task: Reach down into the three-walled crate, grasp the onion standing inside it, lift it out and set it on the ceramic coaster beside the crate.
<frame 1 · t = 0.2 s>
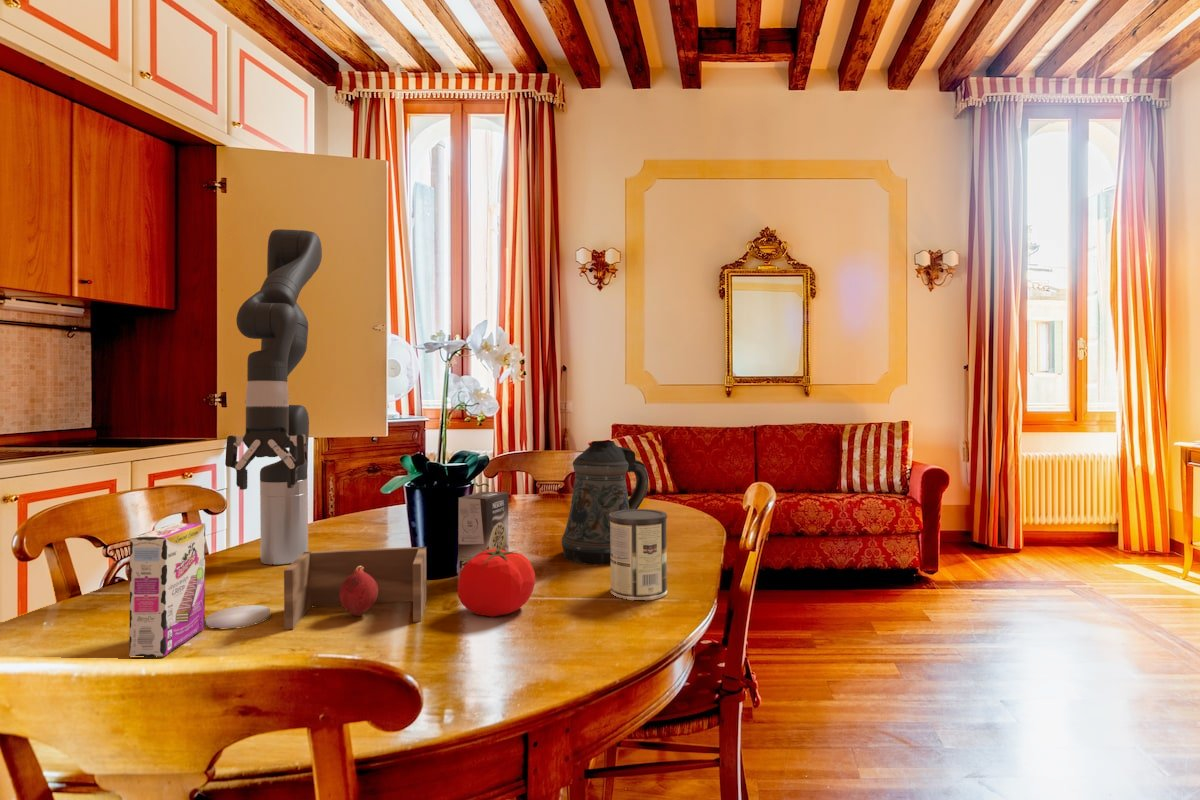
hand: (267, 488, 130), 17 cm above the table, tool pointing down, fingers open, 8 cm apart
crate: (360, 612, 109), on the table
coffee box: (484, 578, 130), on the table
onion: (359, 617, 108), on the table
beer stein: (603, 555, 148), on the table
tomato: (498, 613, 110), on the table
coaster: (238, 619, 106), on the table
coffee can: (638, 593, 120), on the table
candy bar box: (170, 644, 96), on the table
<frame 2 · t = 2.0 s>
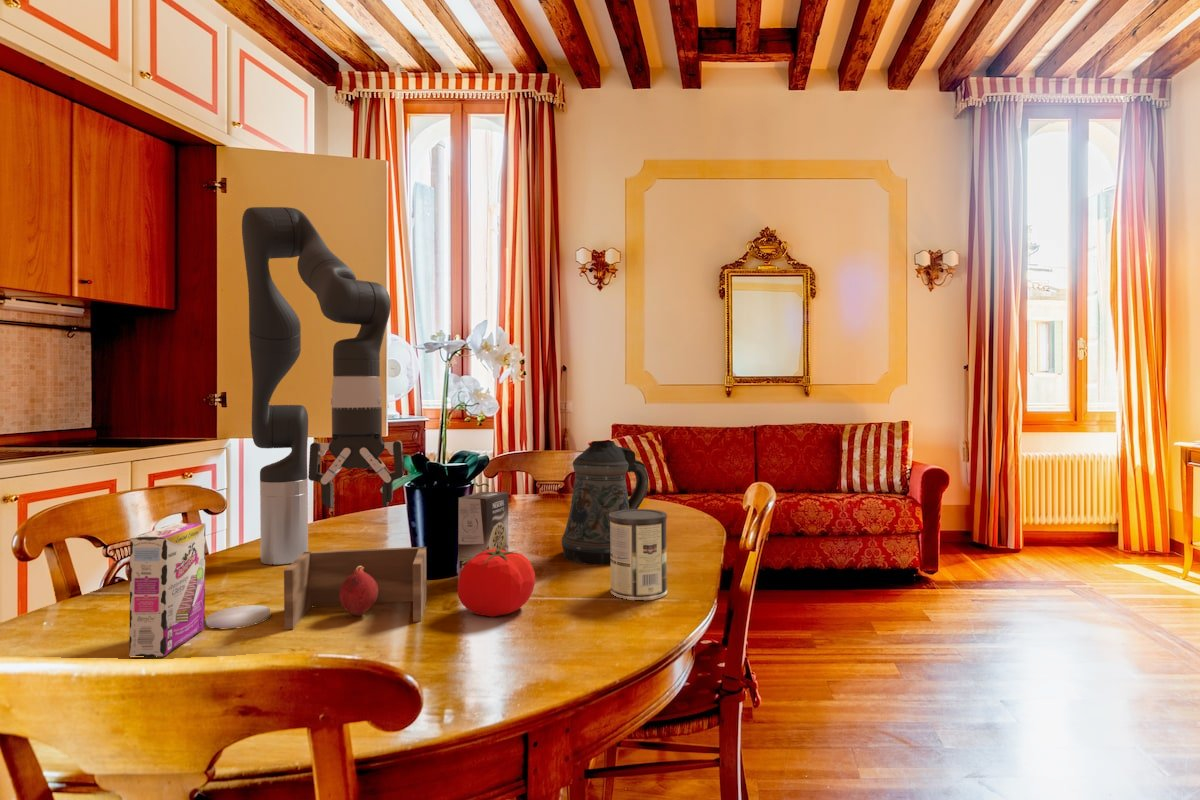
hand: (357, 506, 107), 18 cm above the table, tool pointing down, fingers open, 8 cm apart
nothing on the table moved.
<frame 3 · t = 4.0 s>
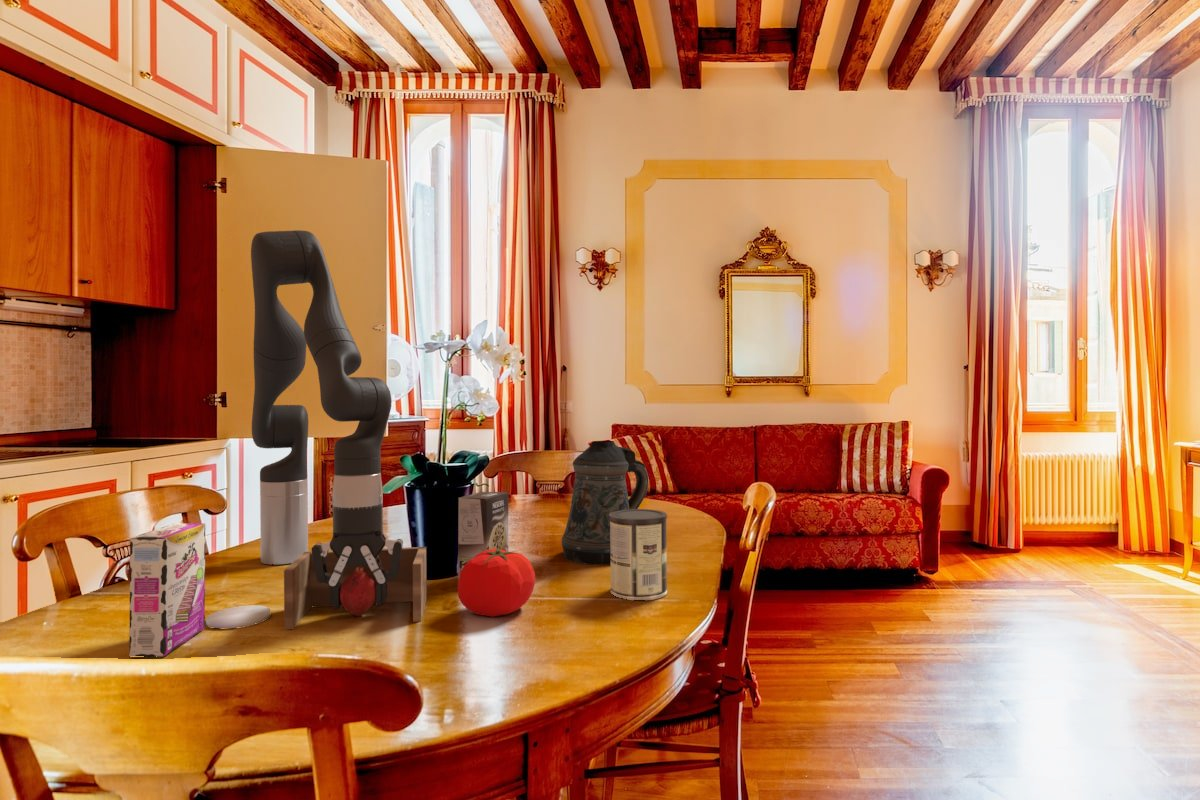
hand: (358, 606, 108), 2 cm above the table, tool pointing down, fingers closed on onion, 5 cm apart
onion: (359, 617, 108), on the table, touching gripper
everything else where it was.
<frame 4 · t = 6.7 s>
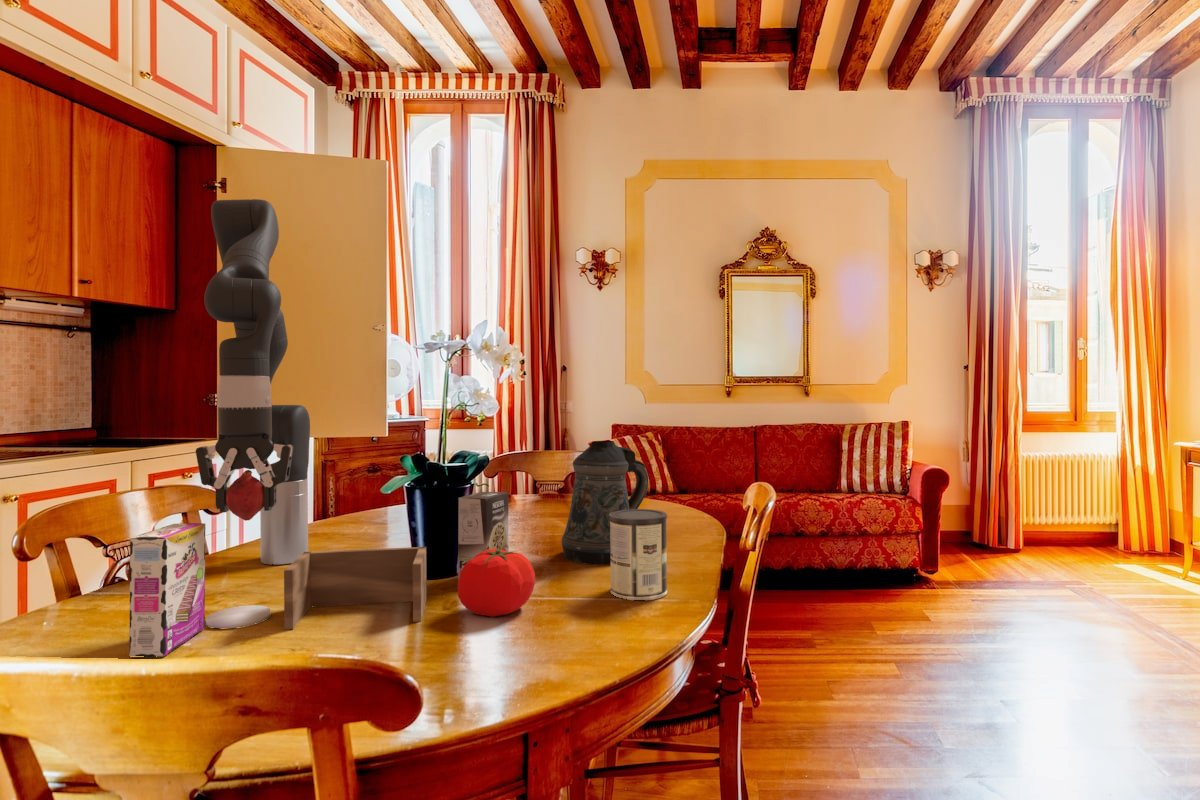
hand: (246, 510, 107), 17 cm above the table, tool pointing down, fingers closed on onion, 5 cm apart
onion: (246, 521, 107), point 15 cm above the table, touching gripper
everything else where it was.
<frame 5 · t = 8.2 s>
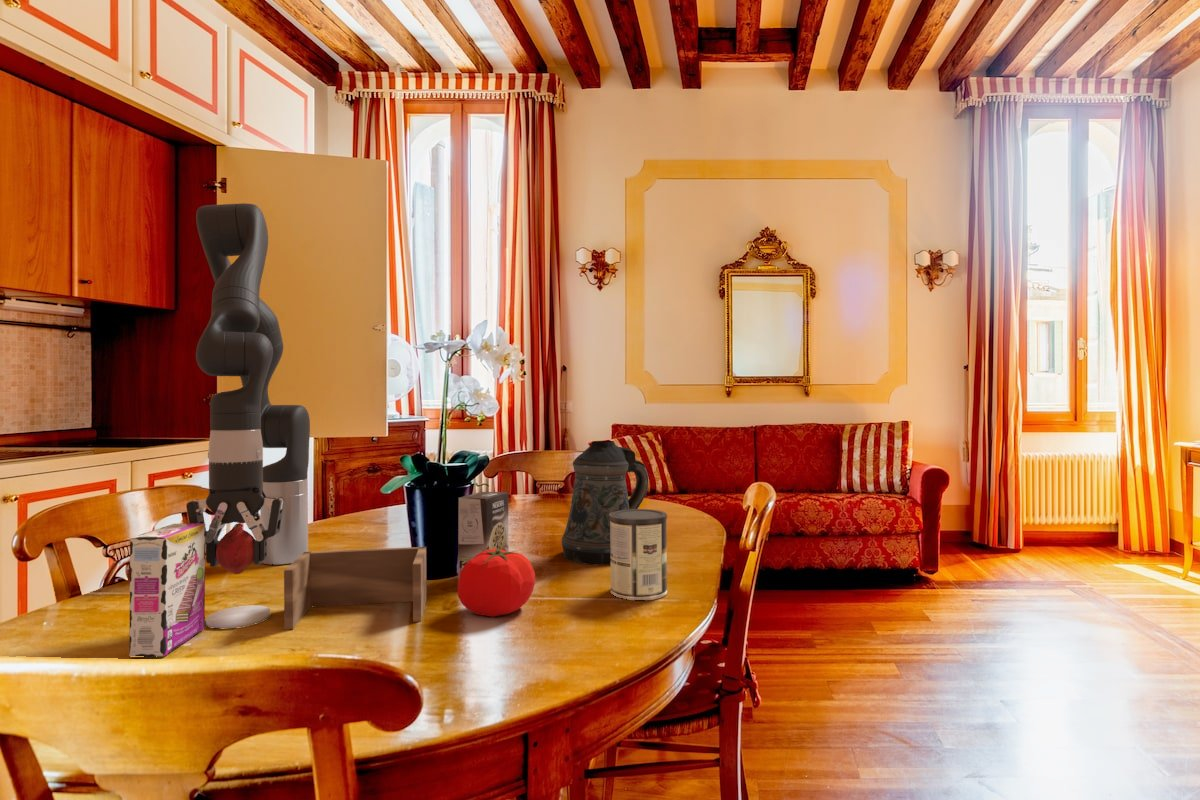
hand: (236, 564, 106), 9 cm above the table, tool pointing down, fingers closed on onion, 5 cm apart
onion: (237, 575, 106), point 7 cm above the table, touching gripper
everything else where it was.
when the fingers open (3 cm above the table, at t = 9.6 s): onion stays where it is, resting on coaster.
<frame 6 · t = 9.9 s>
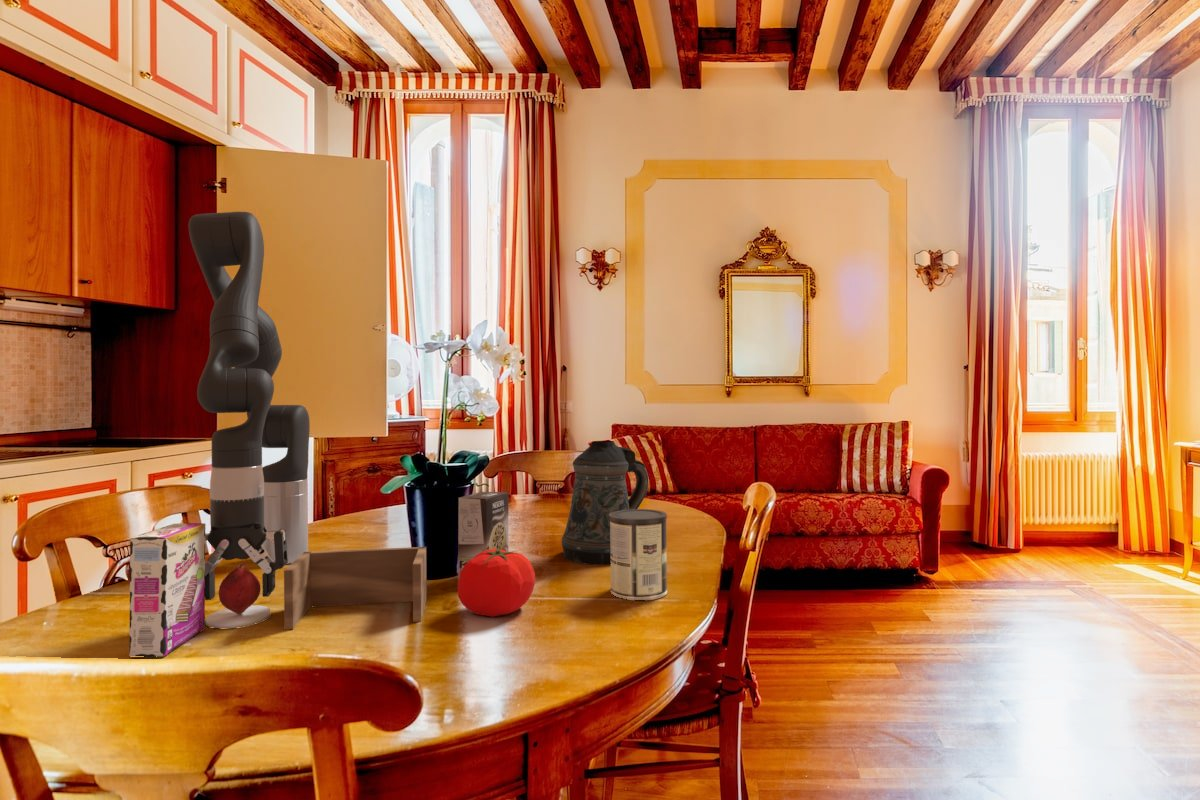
hand: (238, 597, 106), 4 cm above the table, tool pointing down, fingers open, 8 cm apart
onion: (239, 615, 106), point 1 cm above the table, touching coaster
everything else where it was.
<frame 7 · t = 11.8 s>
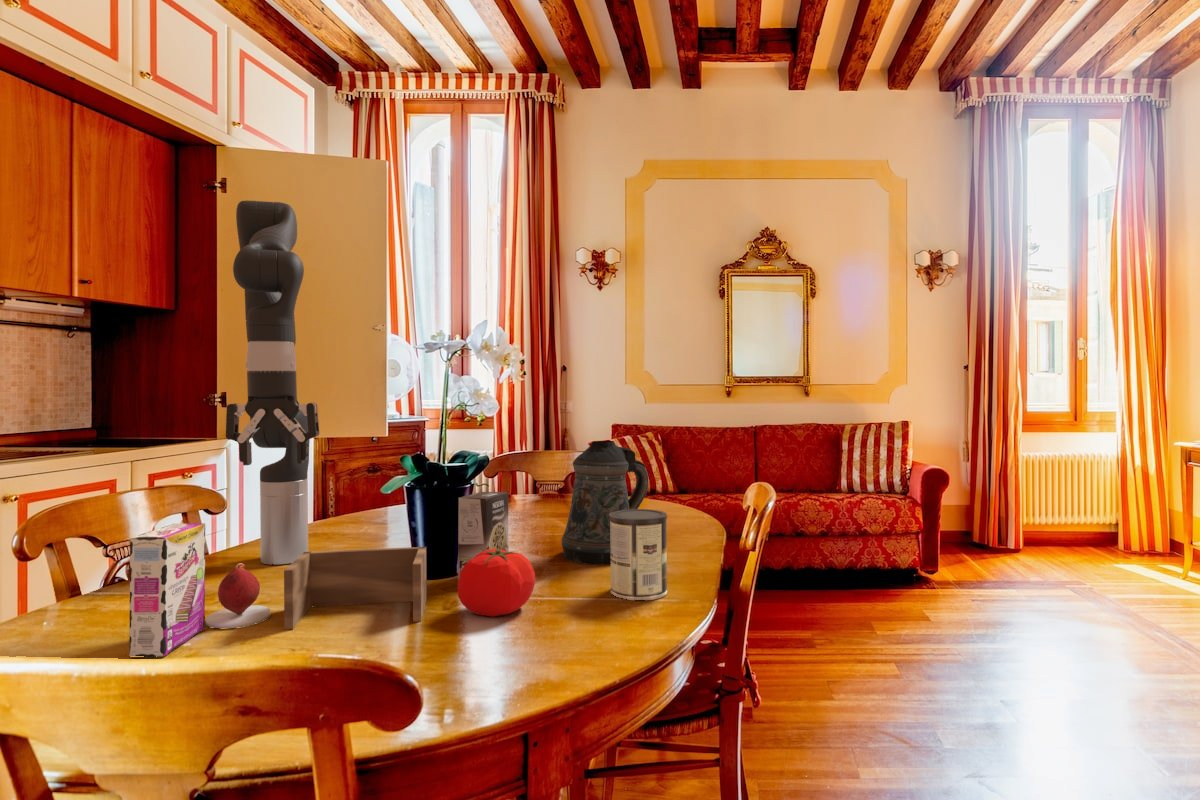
hand: (274, 464, 114), 24 cm above the table, tool pointing down, fingers open, 8 cm apart
nothing on the table moved.
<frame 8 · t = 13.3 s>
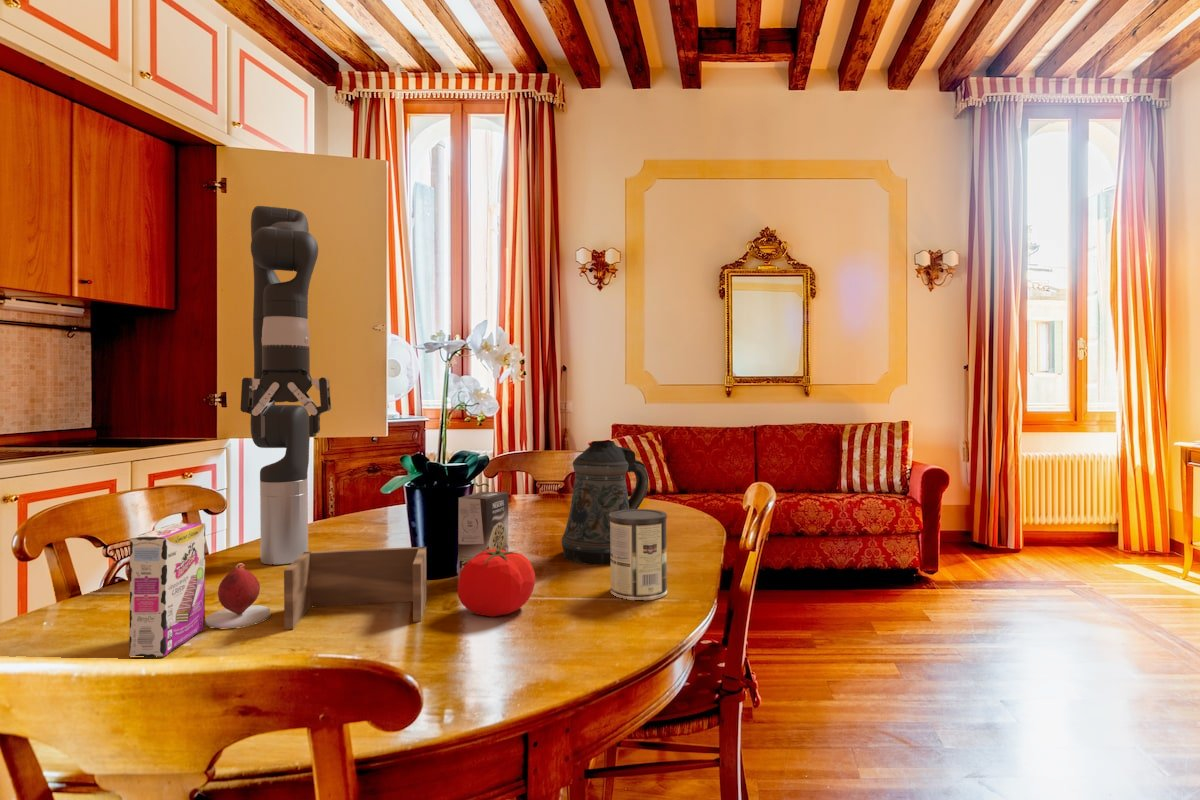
hand: (286, 437, 118), 28 cm above the table, tool pointing down, fingers open, 8 cm apart
nothing on the table moved.
at the end: onion 0.1 cm from the coaster (horizontally); onion point 0.6 cm above the table; the gripper is holding nothing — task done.
